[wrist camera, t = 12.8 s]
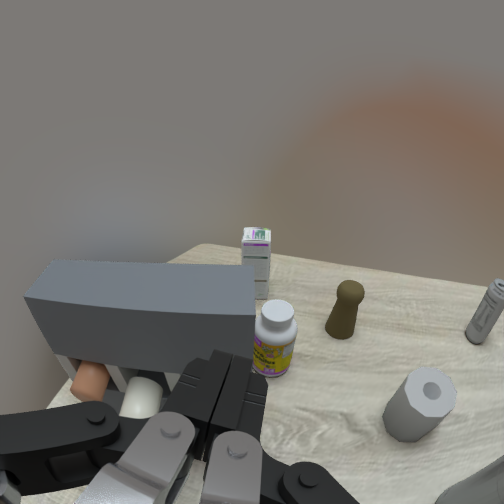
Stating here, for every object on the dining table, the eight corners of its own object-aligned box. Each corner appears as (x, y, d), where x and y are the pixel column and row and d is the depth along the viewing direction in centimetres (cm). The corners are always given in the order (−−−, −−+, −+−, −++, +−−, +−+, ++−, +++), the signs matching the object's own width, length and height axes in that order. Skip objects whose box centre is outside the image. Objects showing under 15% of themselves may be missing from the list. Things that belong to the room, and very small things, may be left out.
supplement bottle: (243, 362, 47) (244, 308, 40) (269, 343, 51) (275, 289, 44) (271, 385, 43) (279, 333, 36) (297, 363, 47) (310, 309, 40)
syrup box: (268, 300, 61) (272, 241, 54) (240, 298, 61) (241, 239, 54) (267, 284, 66) (272, 227, 59) (242, 282, 66) (243, 226, 59)
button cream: (156, 450, 19) (146, 437, 18) (122, 443, 19) (108, 429, 17) (166, 397, 24) (158, 379, 23) (134, 393, 24) (124, 374, 23)
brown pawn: (329, 341, 51) (343, 297, 45) (321, 319, 56) (332, 276, 51) (357, 337, 52) (373, 294, 46) (348, 317, 57) (361, 274, 51)
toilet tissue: (451, 413, 34) (477, 385, 29) (400, 452, 30) (427, 428, 26) (425, 380, 41) (446, 350, 37) (372, 411, 37) (393, 382, 33)
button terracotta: (106, 408, 22) (93, 391, 20) (78, 401, 22) (64, 383, 20) (120, 364, 27) (111, 344, 25) (94, 359, 27) (84, 340, 25)
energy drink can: (485, 346, 45) (516, 295, 38) (467, 345, 47) (498, 291, 39) (479, 328, 50) (506, 278, 43) (461, 327, 52) (488, 275, 44)
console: (247, 448, 33) (255, 314, 19) (114, 432, 32) (23, 296, 18) (247, 413, 38) (253, 265, 24) (122, 401, 37) (53, 259, 23)
